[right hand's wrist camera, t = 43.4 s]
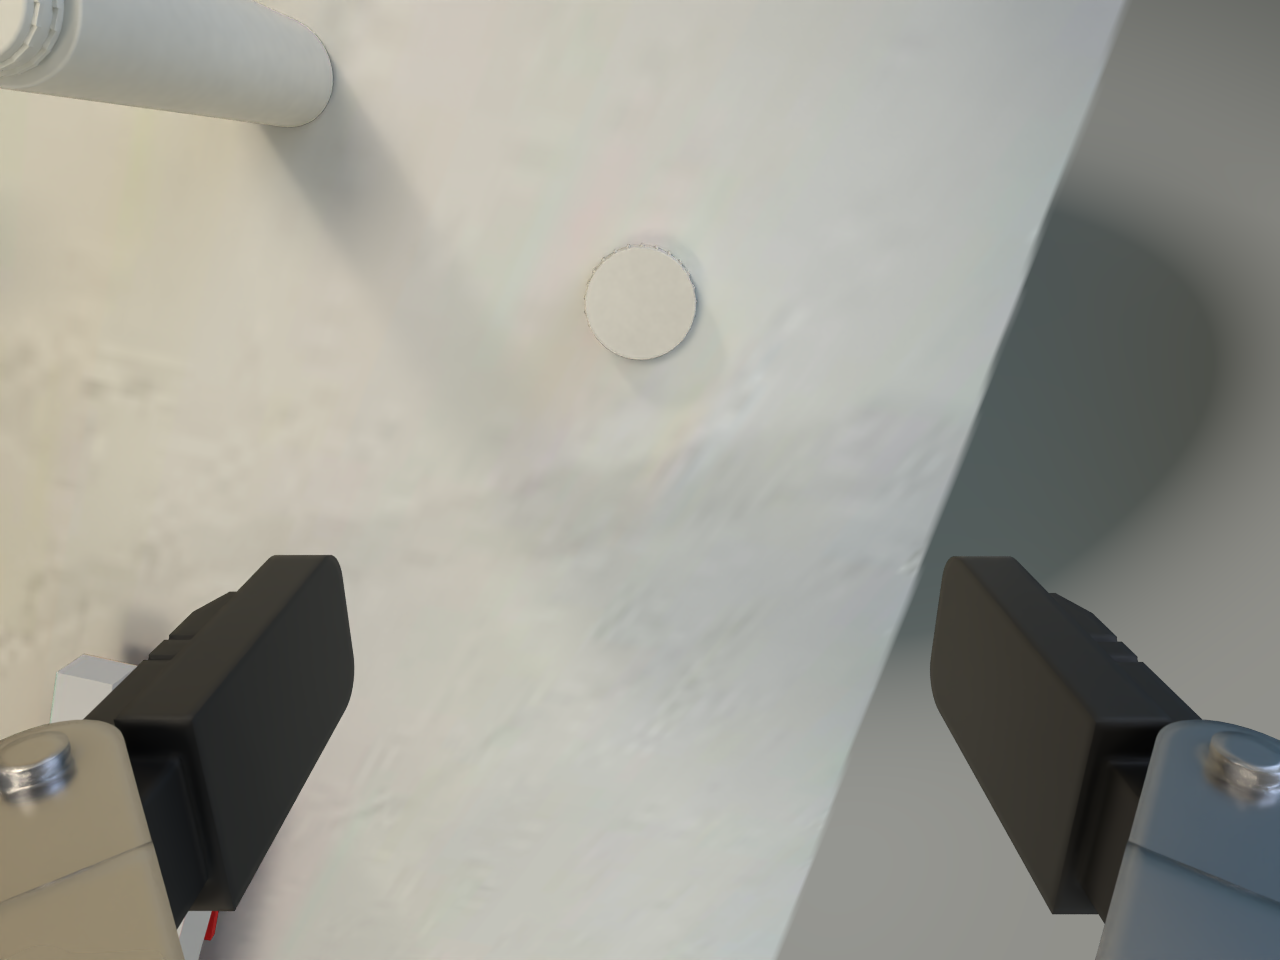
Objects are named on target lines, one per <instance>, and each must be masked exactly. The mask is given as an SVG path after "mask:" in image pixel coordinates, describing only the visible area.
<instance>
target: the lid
mask: <svg viewBox="0 0 1280 960" xmlns="http://www.w3.org/2000/svg"><path fill="white" fill-rule="evenodd" d="M681 264H682V263H681V261H680V260H677V259H676V258H675V257H673V256H672V255H671V253H670V252H669V251H668V252H666V251H664V250H662V249H659V248H658V247H657V246H656V245H655V247H652V246H647V245H644V244H643V243H641V245H634V246H630V245H627V247H625V248H622V249H619V250H616V249H615V250H614V252H613V253H612V254H610V255H609V256H608V257H606V258H605V257H604V258H603V259H602V262H601V263H600V265H599V266H598V267H597V269H596V268H594V270H593V276H592V278H591V280H588V282H587V286H588V288H587V291H586V294H585V296H584V299H585V314H586V316H587V320H588V323H589V327H590V328H591V330H592V332H593V333H594V335H595V336H596V338H597V339H598V340H599V341H600V343H601V344H602V345H604V346H605V347H606V348H607V349H609V350H610V351H612V352H613V353H615V354H617V355H619V356H622V357H625V358H629V359H635V360H646V359H652V358H656V357H659V356H662V355H664V354H666V353H668V352H669V351H671V350H672V349H674V348H675V347H676V346H677V345H679V343H680V342H682V341H683V339H684V338H685V336H686V335H687V333H688V331H690V329H691V325H692V323H693V320H694V317H695V316H696V315H695V309H696V303H697V300H696V298H695V291H694V289H695V286H694V284H692V282H691V280H690V278H689V276H690V274H689V272H688V271H687V272H686V270H685V269H684V267H683V266H682V265H681Z"/></svg>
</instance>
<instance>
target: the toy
mask: <svg viewBox="0 0 1280 960" xmlns="http://www.w3.org/2000/svg"><path fill="white" fill-rule="evenodd" d="M136 667H137V665H132V664H128V663H123V662H119V661H114V660H110V659H106V658H101V657H97V656H92V655H88V654H83V655H81V656H80V657H78V658H77V659H75V660H74V661H73V662H71V663H70V664H68V665H67V666H65V667H64V668H62V669H61V670H59V671H58V672H56V680H55V687H54V695H53V702H52V710H51V717H50V723H55V722H60V721H69V720H83V719H84V718H85V717H86V716H87V715H88V714H89V713H90V712H91V711H92V710H93V709H94V708H95V707H96V706H97V705H98V704H99V703H100V702H101V701H102V700H103V699H104V698H105V697H106V696H107V695H108V694H110V693H111V692H112V691H113V690H114V689H115V688H116V687H117V686H118V685H119V684H120V683H121V682H122V681H123V680H124V679H125V678H126V677H127V676H128V675H129V674H130V673H131V672H132V671H133V670H134V669H135V668H136ZM218 912H219V911H188V913H187V914H186V916H185V918H184V919H183V921H182V923H181V924H180V926H179V927H178V929H177V933H178V936H179V940H180V944H181V947H182V951H183V955H184V958H185V960H199V955H200V951H201V948H202V944H203V941H204V940H211V939H212V937H213V936H214V934H215V928H216V923H217V917H218Z"/></svg>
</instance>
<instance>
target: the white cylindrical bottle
mask: <svg viewBox="0 0 1280 960" xmlns="http://www.w3.org/2000/svg"><path fill="white" fill-rule="evenodd" d="M332 87H333V72H332V66H331V62H330V59H329V56H328V54H327V51H326V49H325V48H324V46H323V44H322V43H321V41H320V40H319V38H318V37H317V36H316V35H315V34H314V33H313V32H312V31H311V30H310V29H309V28H308V27H307V26H305V25H304V24H302V23H301V22H299V21H297V20H295V19H293V18H291V17H288V16H286V15H284V14H282V13H279V12H277V11H275V10H273V9H271V8H268V7H266V6H264V5H262V4H260V3H257V2H255V1H253V0H0V88H1V89H8V90H15V91H22V92H30V93H37V94H45V95H52V96H59V97H67V98H74V99H81V100H89V101H96V102H104V103H111V104H118V105H126V106H133V107H140V108H148V109H155V110H163V111H170V112H177V113H185V114H192V115H200V116H207V117H214V118H222V119H229V120H236V121H244V122H251V123H259V124H266V125H273V126H281V127H297V126H302V125H304V124H307V123H309V122H311V121H312V120H314V119H315V118H316V117H318V116H319V115H320V113H321V112H322V111H323V110H324V108H325V107H326V105H327V103H328V101H329V99H330V96H331V92H332Z"/></svg>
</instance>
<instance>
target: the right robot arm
mask: <svg viewBox="0 0 1280 960" xmlns="http://www.w3.org/2000/svg"><path fill="white" fill-rule="evenodd" d="M930 678H931V687H932V692H933V697H934V700H935V703H936V706H937V708H938V710H939V712H940V714H941V716H942V717H943V719H944V721H945V723H946V725H947V726H948V728H949V730H950V732H951V734H952V735H953V737H954V739H955V741H956V743H957V744H958V746H959V748H960V750H961V752H962V753H963V755H964V757H965V759H966V760H967V762H968V764H969V766H970V768H971V769H972V771H973V773H974V775H975V777H976V778H977V780H978V782H979V784H980V786H981V787H982V789H983V791H984V793H985V795H986V796H987V798H988V800H989V802H990V803H991V805H992V807H993V809H994V811H995V812H996V814H997V816H998V818H999V820H1000V821H1001V823H1002V825H1003V827H1004V829H1005V830H1006V832H1007V834H1008V836H1009V838H1010V839H1011V841H1012V843H1013V845H1014V846H1015V848H1016V850H1017V852H1018V854H1019V855H1020V857H1021V859H1022V861H1023V863H1024V864H1025V866H1026V868H1027V870H1028V872H1029V873H1030V875H1031V877H1032V879H1033V881H1034V882H1035V884H1036V886H1037V888H1038V890H1039V891H1040V893H1041V895H1042V897H1043V898H1044V900H1045V902H1046V904H1047V906H1048V907H1049V909H1050V911H1051V913H1052V914H1099V916H1100V917H1101V919H1102V920H1103V922H1104V924H1105V925H1104V929H1103V933H1102V937H1101V940H1100V944H1099V948H1098V951H1097V955H1096V959H1095V960H1280V740H1277V739H1275V738H1273V737H1270V736H1268V735H1266V734H1263V733H1260V732H1257V731H1255V730H1252V729H1249V728H1245V727H1242V726H1238V725H1234V724H1229V723H1225V722H1219V721H1211V720H1202V719H1201V718H1200V717H1199V716H1198V715H1197V714H1196V713H1195V712H1194V711H1193V710H1192V709H1191V708H1190V707H1189V706H1188V705H1187V704H1186V703H1185V702H1184V701H1183V700H1181V699H1180V698H1179V697H1178V696H1177V695H1176V694H1175V693H1174V692H1173V691H1172V690H1171V689H1170V688H1169V687H1168V686H1167V685H1166V684H1165V683H1164V682H1163V681H1162V680H1161V679H1160V678H1159V677H1158V676H1157V675H1156V674H1155V673H1154V672H1153V671H1152V670H1151V669H1149V668H1148V667H1147V666H1146V665H1145V664H1144V663H1143V662H1138V660H1137V656H1136V655H1135V654H1134V653H1133V652H1132V651H1131V650H1130V649H1129V648H1128V647H1127V646H1126V645H1125V644H1124V643H1123V642H1117V637H1116V636H1115V635H1114V634H1113V633H1112V632H1111V631H1110V630H1109V629H1108V628H1107V627H1106V626H1105V625H1104V624H1103V623H1102V622H1101V621H1100V620H1099V619H1098V618H1097V617H1096V616H1095V615H1094V614H1093V613H1091V612H1089V611H1087V610H1086V609H1084V608H1082V607H1080V606H1078V605H1076V604H1074V603H1073V602H1071V601H1069V600H1067V599H1065V598H1063V597H1062V596H1060V595H1058V594H1056V593H1048V592H1047V591H1046V590H1045V589H1044V588H1043V587H1042V586H1041V585H1040V584H1039V583H1038V582H1037V581H1036V580H1035V579H1034V578H1033V577H1032V576H1031V575H1030V574H1029V573H1028V571H1027V570H1026V569H1025V568H1024V567H1023V566H1022V565H1021V564H1020V563H1019V562H1018V561H1017V560H1016V559H1014V558H1013V557H1010V556H953V557H951V558H950V559H949V560H948V561H947V563H946V565H945V568H944V571H943V576H942V583H941V590H940V597H939V604H938V611H937V618H936V625H935V632H934V639H933V646H932V653H931V662H930ZM353 681H354V656H353V649H352V642H351V635H350V627H349V620H348V613H347V606H346V599H345V592H344V584H343V577H342V572H341V568H340V565H339V562H338V561H337V559H336V558H335V557H334V556H332V555H274V556H272V557H270V558H269V559H268V560H267V561H266V562H265V563H264V564H263V565H262V566H261V567H260V568H259V569H258V570H257V571H256V572H255V574H254V575H253V576H252V577H251V578H250V579H249V580H248V581H247V582H246V583H245V584H244V585H243V586H242V587H241V588H240V589H239V590H238V591H237V592H228V593H227V594H225V595H223V596H221V597H219V598H217V599H216V600H214V601H212V602H210V603H208V604H206V605H205V606H203V607H201V608H199V609H197V610H195V611H194V612H192V613H191V614H190V615H189V616H188V617H187V618H186V619H185V620H184V621H183V622H182V623H181V624H180V625H179V626H178V627H177V628H176V629H175V630H174V631H173V632H172V633H171V634H170V635H169V640H164V641H163V642H162V643H161V644H160V645H159V646H158V647H157V648H156V649H155V650H154V651H152V652H151V653H150V654H149V659H148V660H143V661H142V662H141V663H140V664H139V665H138V666H137V667H136V668H135V669H134V670H133V671H132V672H131V673H130V674H129V675H128V676H127V677H126V678H125V679H124V680H123V681H122V682H121V683H120V684H119V685H118V686H117V687H116V688H115V689H114V690H113V691H112V692H111V693H110V694H108V695H107V696H106V697H105V698H104V699H103V700H102V701H101V702H100V703H99V704H98V705H97V706H96V707H95V708H94V709H93V710H92V711H91V712H90V713H89V714H88V715H87V716H86V717H85V718H84V719H83V720H69V721H60V722H55V723H50V724H46V725H42V726H38V727H35V728H31V729H28V730H25V731H22V732H20V733H17V734H14V735H12V736H10V737H7V738H5V739H3V740H0V960H185V958H184V955H183V951H182V947H181V944H180V940H179V936H178V933H177V929H178V927H179V926H180V924H181V923H182V921H183V919H184V918H185V916H186V914H187V913H188V911H235V909H236V907H237V906H238V904H239V902H240V900H241V898H242V896H243V895H244V893H245V891H246V889H247V887H248V886H249V884H250V882H251V880H252V878H253V877H254V875H255V873H256V871H257V869H258V867H259V866H260V864H261V862H262V860H263V858H264V857H265V855H266V853H267V851H268V849H269V847H270V846H271V844H272V842H273V840H274V838H275V837H276V835H277V833H278V831H279V829H280V828H281V826H282V824H283V822H284V820H285V818H286V817H287V815H288V813H289V811H290V809H291V808H292V806H293V804H294V802H295V800H296V799H297V797H298V795H299V793H300V791H301V789H302V788H303V786H304V784H305V782H306V780H307V779H308V777H309V775H310V773H311V771H312V769H313V768H314V766H315V764H316V762H317V760H318V759H319V757H320V755H321V753H322V751H323V750H324V748H325V746H326V744H327V742H328V740H329V739H330V737H331V735H332V733H333V731H334V730H335V728H336V726H337V724H338V722H339V720H340V719H341V717H342V715H343V713H344V711H345V710H346V708H347V705H348V703H349V700H350V697H351V693H352V688H353Z"/></svg>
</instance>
